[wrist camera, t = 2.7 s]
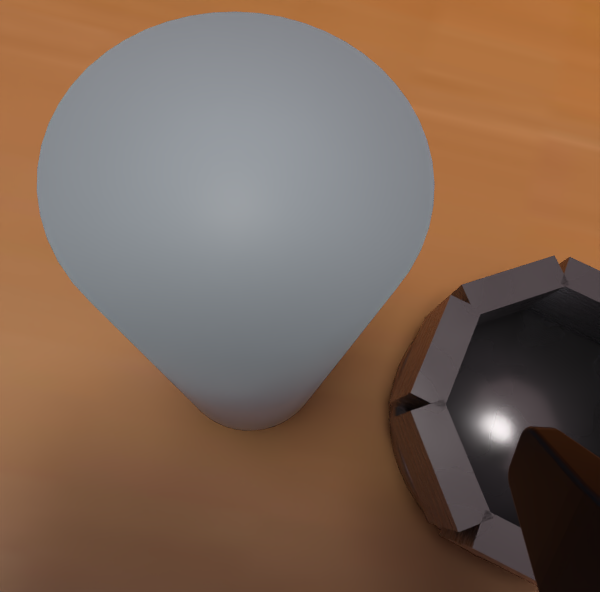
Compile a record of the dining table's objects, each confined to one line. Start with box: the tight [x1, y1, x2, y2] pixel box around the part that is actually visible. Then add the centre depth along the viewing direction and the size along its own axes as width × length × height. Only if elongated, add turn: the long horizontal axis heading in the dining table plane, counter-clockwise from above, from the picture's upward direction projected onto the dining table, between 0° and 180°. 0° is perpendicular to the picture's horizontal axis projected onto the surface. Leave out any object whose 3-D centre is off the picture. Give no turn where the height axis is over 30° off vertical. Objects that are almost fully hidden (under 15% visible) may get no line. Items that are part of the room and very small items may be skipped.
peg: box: [37, 12, 434, 430], centre depth 12 cm, size 5×5×12 cm
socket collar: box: [389, 256, 600, 586], centre depth 16 cm, size 9×9×4 cm
